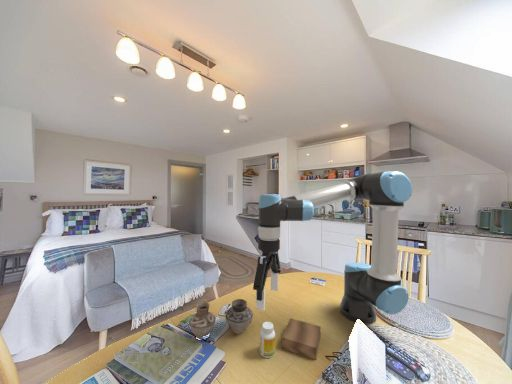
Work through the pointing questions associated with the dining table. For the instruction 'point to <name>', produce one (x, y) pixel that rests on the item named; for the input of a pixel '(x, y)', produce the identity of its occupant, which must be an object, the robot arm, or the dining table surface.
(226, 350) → the dining table surface
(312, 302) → the dining table surface
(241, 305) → the pottery
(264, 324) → the supplement bottle
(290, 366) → the dining table surface
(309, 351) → the walnut block
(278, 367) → the dining table surface
